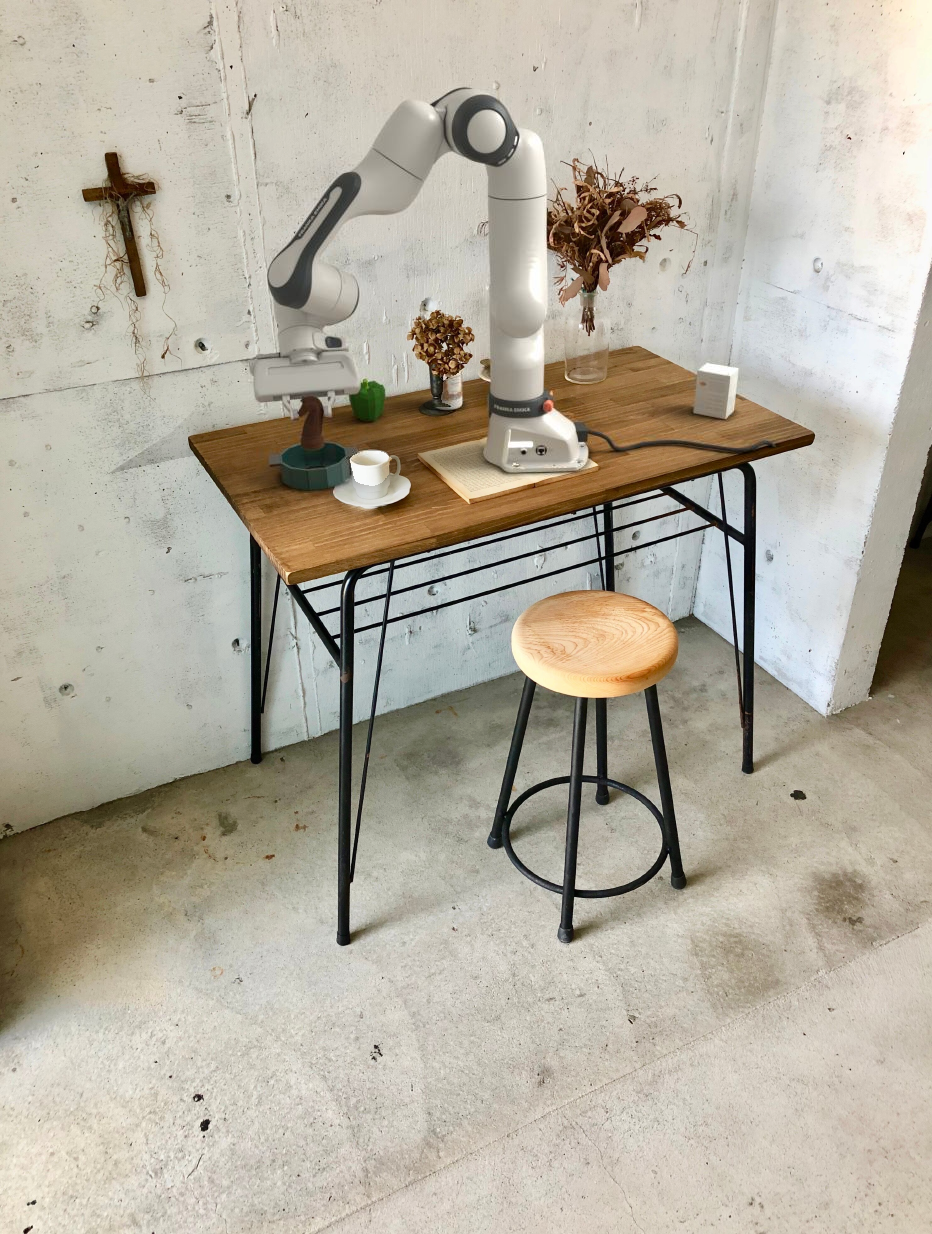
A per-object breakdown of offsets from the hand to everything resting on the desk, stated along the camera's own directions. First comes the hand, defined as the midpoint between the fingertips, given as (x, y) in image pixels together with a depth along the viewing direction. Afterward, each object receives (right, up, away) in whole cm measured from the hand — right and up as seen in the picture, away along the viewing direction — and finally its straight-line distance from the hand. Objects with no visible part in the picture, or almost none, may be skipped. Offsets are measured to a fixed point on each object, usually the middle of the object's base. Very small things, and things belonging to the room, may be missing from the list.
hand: (311, 418), depth 192 cm
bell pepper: (+6, +9, +45) cm, 46 cm away
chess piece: (0, -5, +4) cm, 6 cm away
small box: (+87, +10, +44) cm, 97 cm away
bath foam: (+25, +13, +50) cm, 58 cm away
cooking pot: (-2, -8, +20) cm, 22 cm away
